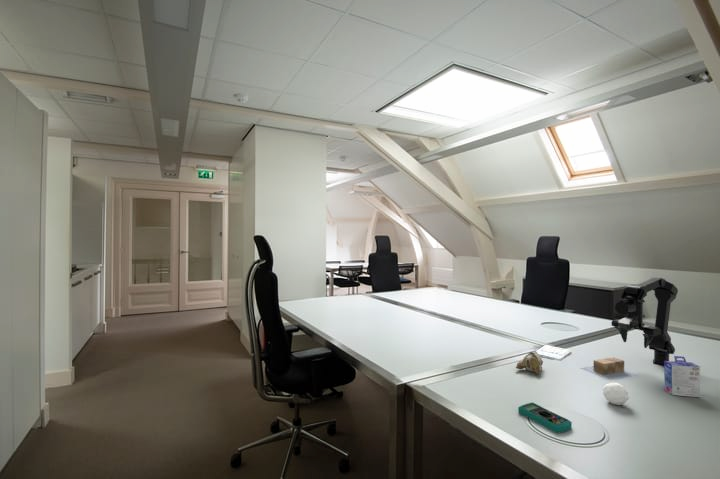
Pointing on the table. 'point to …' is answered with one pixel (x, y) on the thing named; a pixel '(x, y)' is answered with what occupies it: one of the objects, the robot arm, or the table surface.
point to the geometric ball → (615, 393)
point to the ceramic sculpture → (531, 362)
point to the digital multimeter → (545, 417)
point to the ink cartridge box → (682, 377)
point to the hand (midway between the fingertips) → (634, 344)
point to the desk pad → (610, 376)
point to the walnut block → (608, 366)
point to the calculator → (553, 352)
